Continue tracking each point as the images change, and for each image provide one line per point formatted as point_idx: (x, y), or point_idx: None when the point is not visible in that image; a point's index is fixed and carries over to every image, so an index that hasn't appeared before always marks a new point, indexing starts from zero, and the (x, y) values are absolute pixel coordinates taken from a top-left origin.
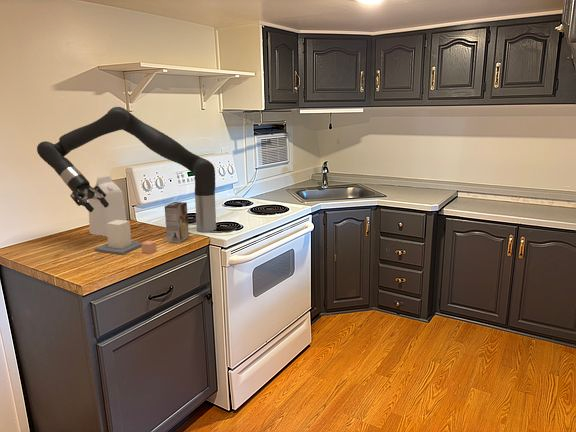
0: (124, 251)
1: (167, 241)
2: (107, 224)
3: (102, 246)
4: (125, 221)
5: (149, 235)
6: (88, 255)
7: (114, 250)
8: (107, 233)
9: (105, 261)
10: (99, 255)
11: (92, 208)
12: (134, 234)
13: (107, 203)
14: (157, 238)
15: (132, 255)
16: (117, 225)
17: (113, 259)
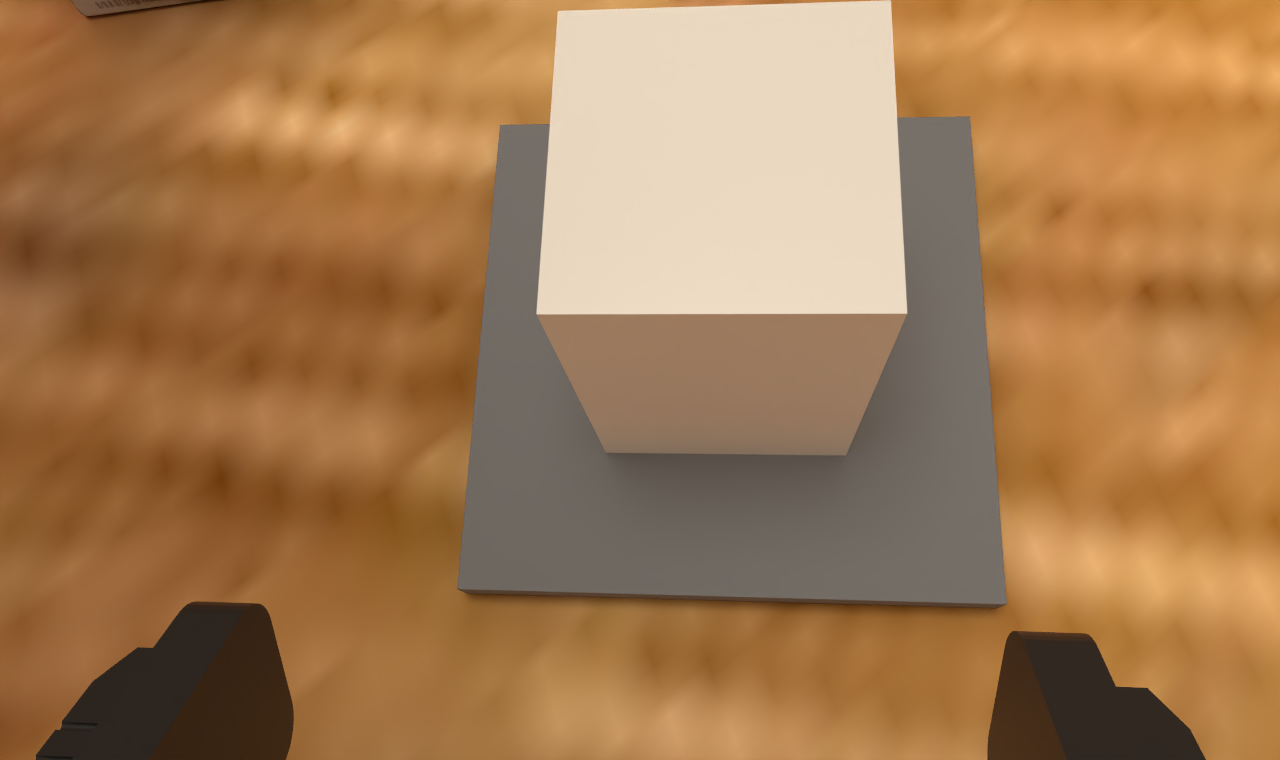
0: (922, 121)
1: None
2: (900, 290)
3: (866, 558)
4: (615, 59)
5: (96, 353)
6: (1192, 546)
7: (944, 265)
8: (872, 383)
9: (1254, 164)
10: (1114, 397)
11: (1085, 639)
12: (78, 601)
13: (212, 625)
14: (212, 171)
15: (921, 28)
16: (890, 46)
17: (1146, 128)
